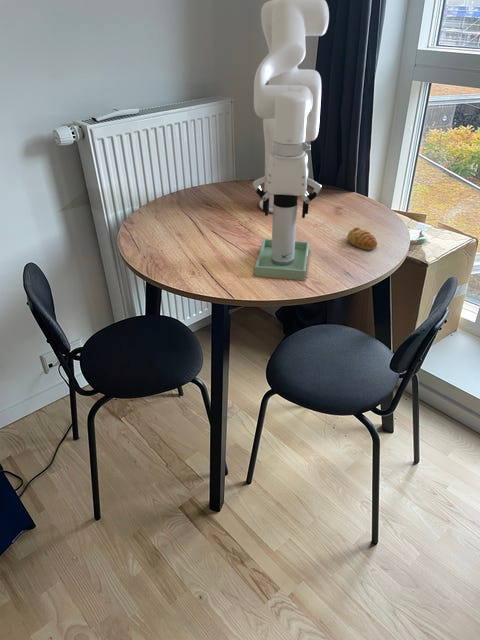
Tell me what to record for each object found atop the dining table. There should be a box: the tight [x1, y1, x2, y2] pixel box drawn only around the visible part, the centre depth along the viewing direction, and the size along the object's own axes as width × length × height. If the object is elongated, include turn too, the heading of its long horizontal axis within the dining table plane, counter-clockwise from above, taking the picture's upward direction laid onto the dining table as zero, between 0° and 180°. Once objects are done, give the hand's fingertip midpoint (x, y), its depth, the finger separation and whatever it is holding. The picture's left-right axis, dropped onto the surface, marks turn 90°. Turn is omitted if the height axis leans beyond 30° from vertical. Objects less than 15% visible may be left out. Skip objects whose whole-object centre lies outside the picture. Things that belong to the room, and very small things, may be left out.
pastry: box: [346, 227, 379, 251], centre depth 143 cm, size 9×7×4 cm
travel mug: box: [271, 195, 299, 266], centre depth 129 cm, size 6×7×20 cm
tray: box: [254, 238, 310, 281], centre depth 134 cm, size 17×13×3 cm
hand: (285, 214), depth 127 cm, fingers open, 9 cm apart
